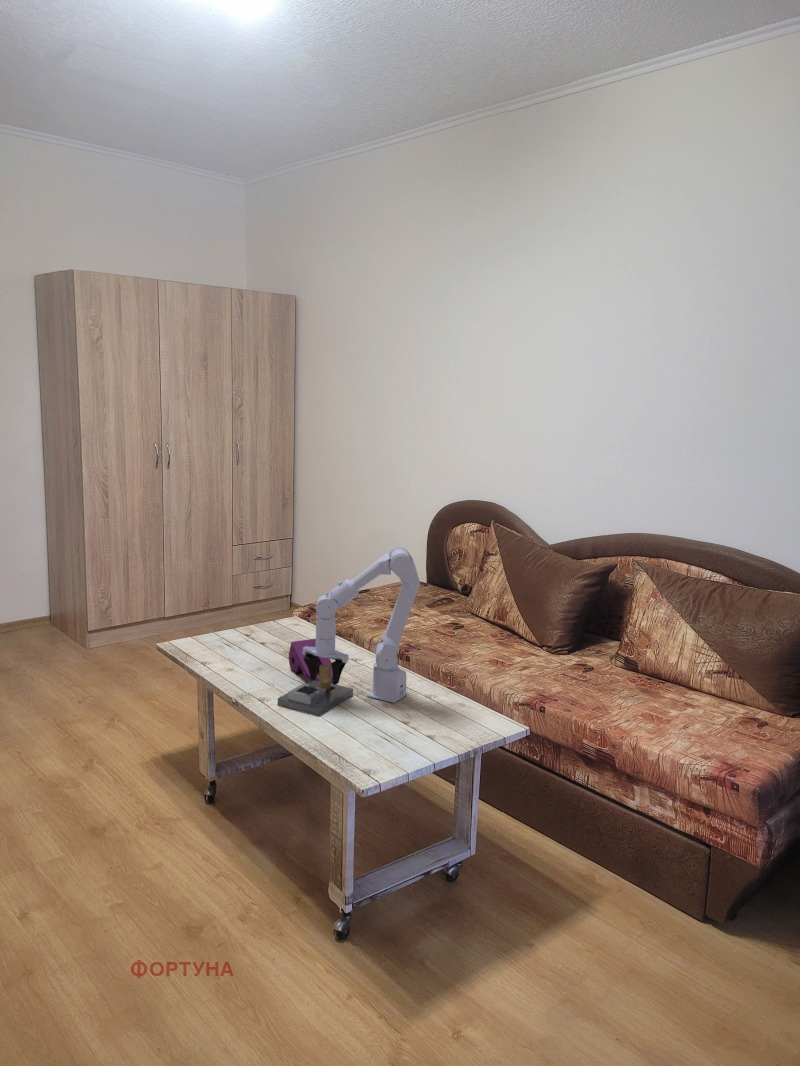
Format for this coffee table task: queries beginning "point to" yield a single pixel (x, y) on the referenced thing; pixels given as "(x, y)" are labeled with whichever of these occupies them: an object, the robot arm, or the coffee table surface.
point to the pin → (325, 677)
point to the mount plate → (314, 697)
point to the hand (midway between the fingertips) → (324, 681)
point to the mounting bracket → (298, 662)
